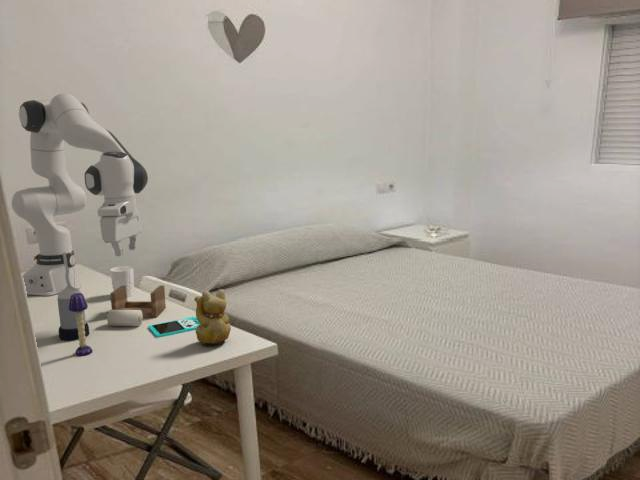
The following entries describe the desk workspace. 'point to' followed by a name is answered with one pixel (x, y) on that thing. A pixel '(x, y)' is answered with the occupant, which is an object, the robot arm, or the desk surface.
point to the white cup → (123, 278)
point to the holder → (139, 302)
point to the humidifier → (68, 318)
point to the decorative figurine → (212, 318)
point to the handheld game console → (174, 327)
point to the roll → (125, 318)
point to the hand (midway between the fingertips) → (126, 252)
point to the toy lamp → (80, 322)
